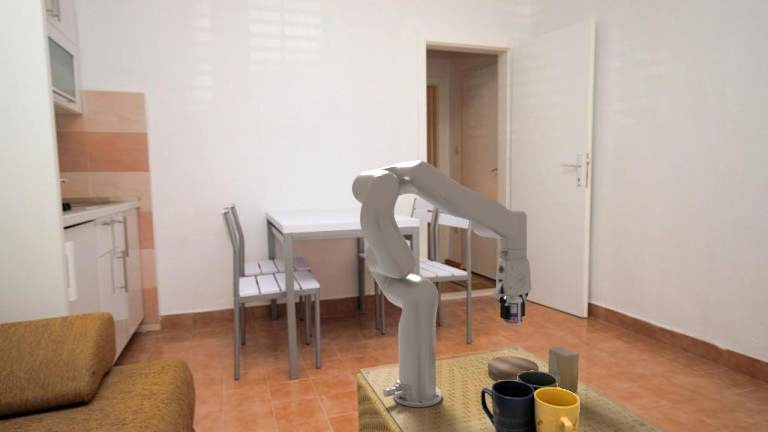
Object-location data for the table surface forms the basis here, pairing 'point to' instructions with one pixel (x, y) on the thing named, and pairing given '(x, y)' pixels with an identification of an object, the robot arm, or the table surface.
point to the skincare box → (564, 368)
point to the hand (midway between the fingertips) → (512, 316)
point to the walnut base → (509, 367)
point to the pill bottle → (514, 311)
